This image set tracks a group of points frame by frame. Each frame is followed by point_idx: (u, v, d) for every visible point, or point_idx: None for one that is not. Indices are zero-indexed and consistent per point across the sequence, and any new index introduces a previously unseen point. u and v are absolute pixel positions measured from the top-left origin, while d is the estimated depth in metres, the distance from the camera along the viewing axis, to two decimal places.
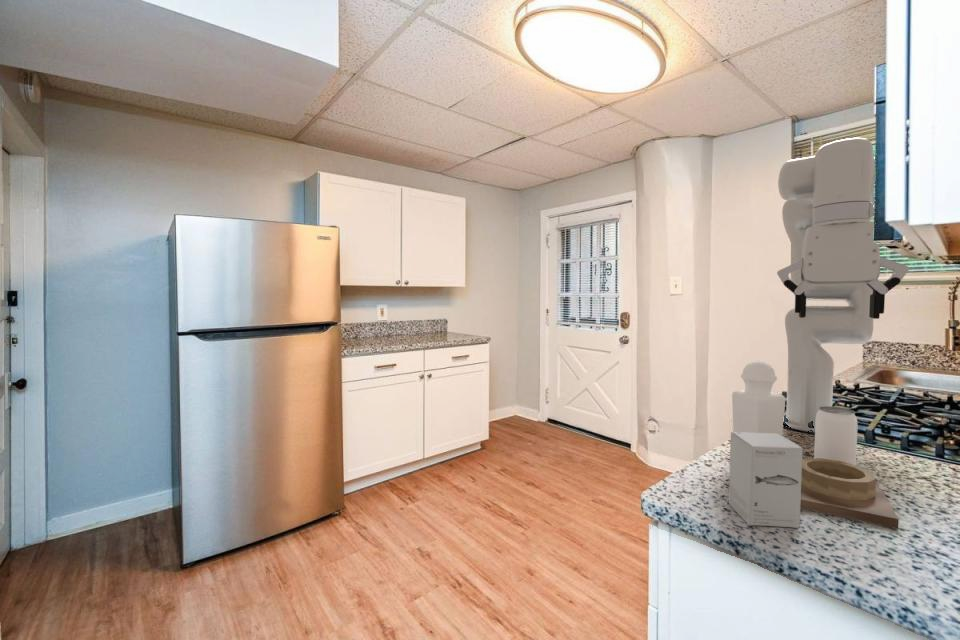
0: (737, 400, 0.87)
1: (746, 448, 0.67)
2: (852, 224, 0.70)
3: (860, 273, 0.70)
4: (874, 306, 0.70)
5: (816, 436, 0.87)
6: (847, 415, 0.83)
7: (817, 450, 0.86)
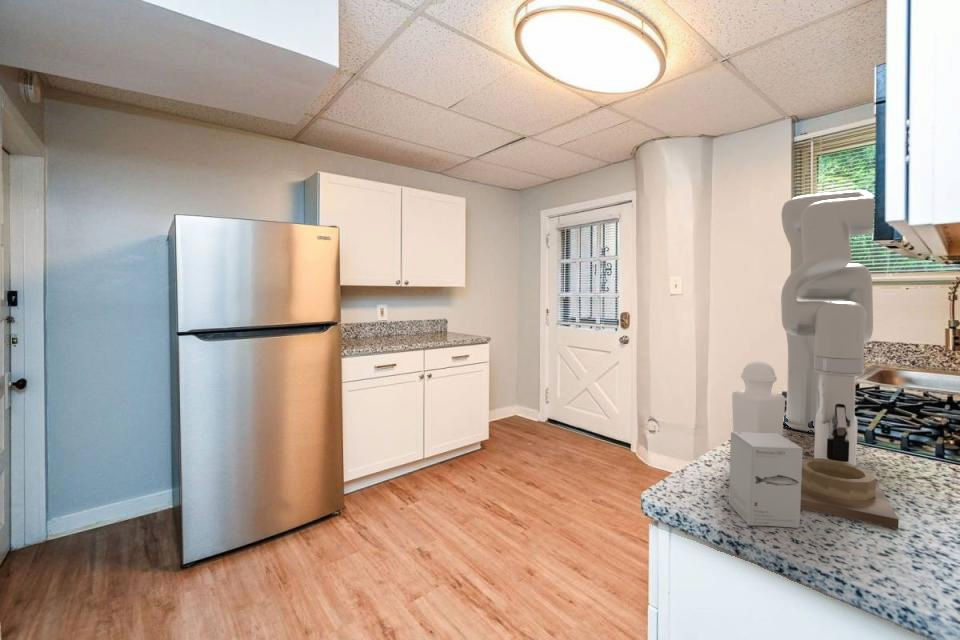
0: (737, 400, 0.87)
1: (747, 448, 0.67)
2: None
3: None
4: None
5: (816, 436, 0.87)
6: None
7: (817, 450, 0.86)
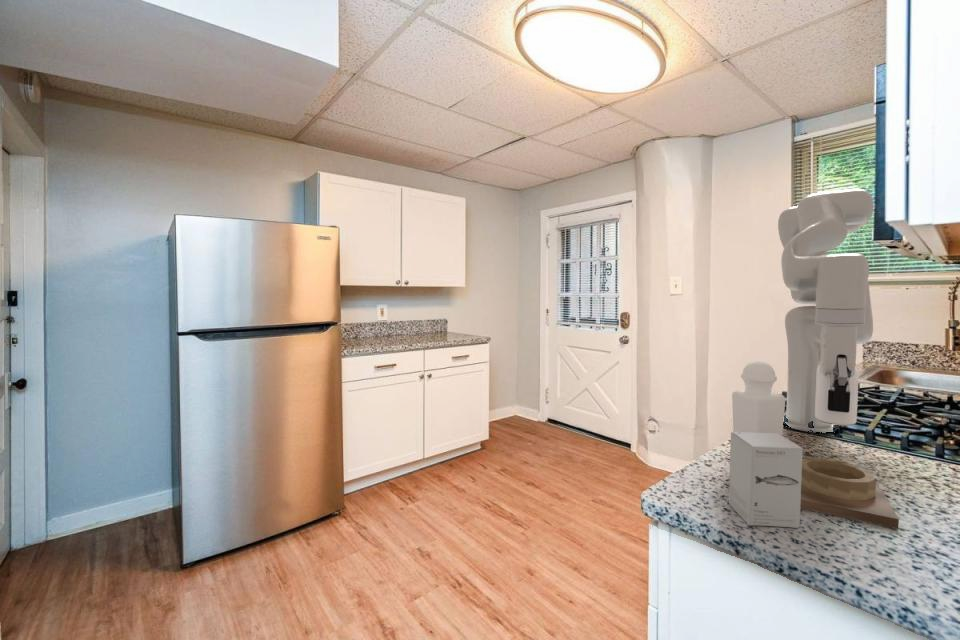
0: (737, 400, 0.87)
1: (746, 448, 0.67)
2: None
3: None
4: None
5: (817, 389, 0.87)
6: None
7: (818, 403, 0.87)
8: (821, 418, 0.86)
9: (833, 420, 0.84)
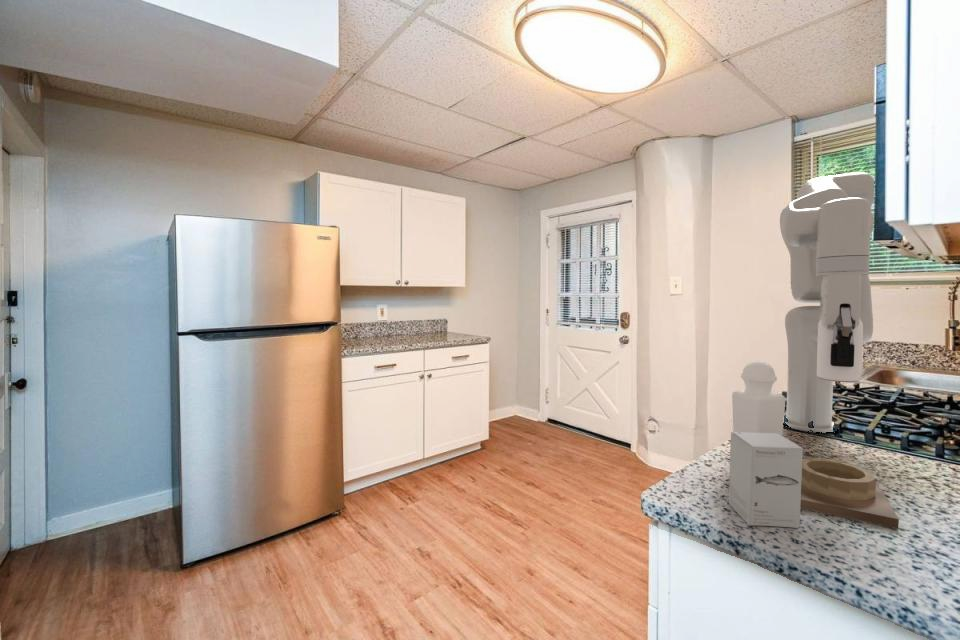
0: (737, 400, 0.87)
1: (747, 448, 0.67)
2: None
3: None
4: None
5: (819, 345, 0.81)
6: None
7: (820, 359, 0.81)
8: (823, 375, 0.80)
9: (837, 376, 0.78)
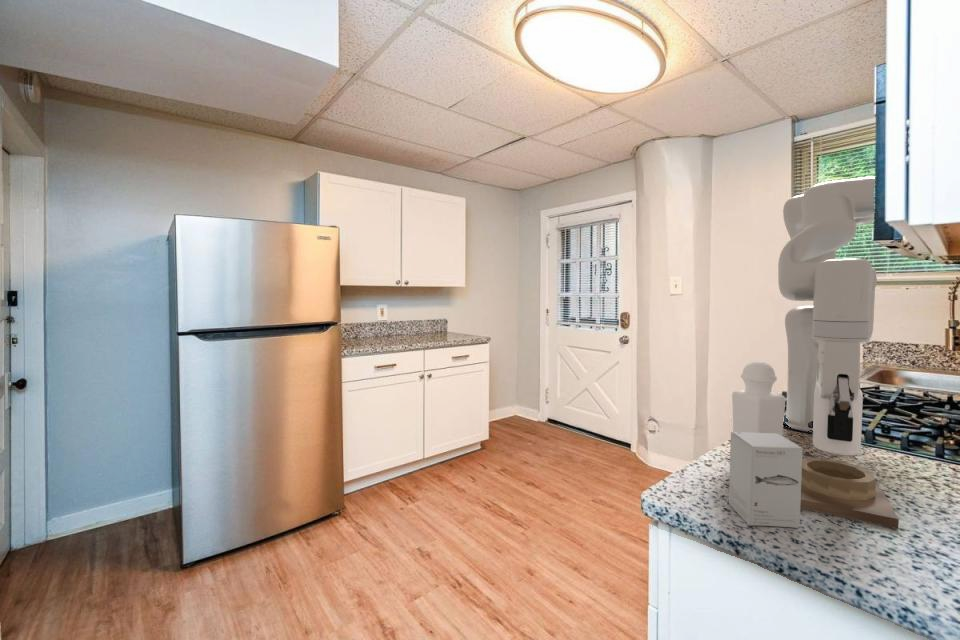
0: (737, 400, 0.87)
1: (746, 448, 0.67)
2: None
3: None
4: None
5: (815, 413, 0.76)
6: None
7: (816, 429, 0.75)
8: (820, 447, 0.75)
9: (834, 449, 0.73)
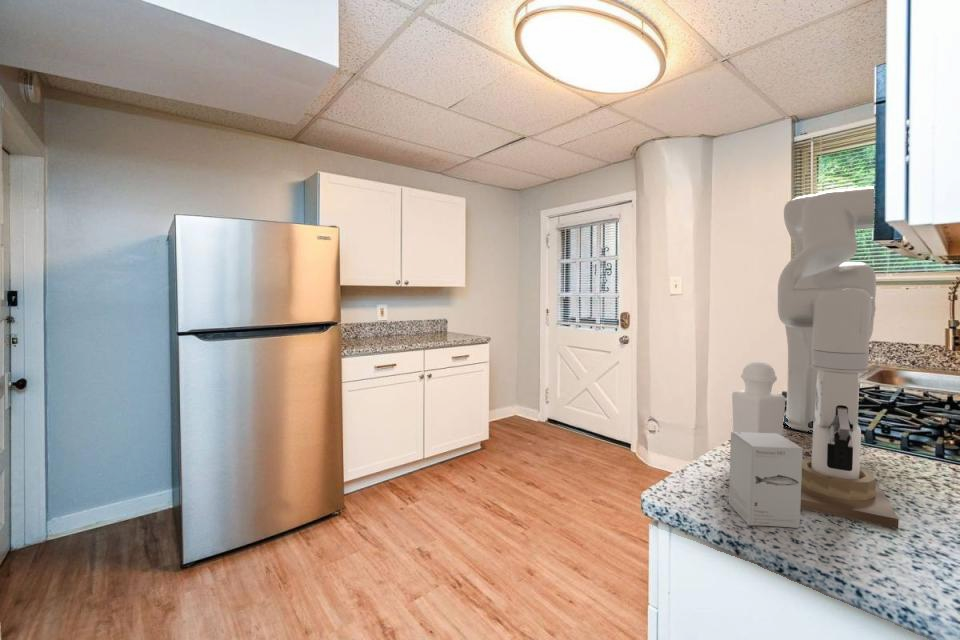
0: (737, 400, 0.87)
1: (747, 448, 0.67)
2: None
3: None
4: None
5: (814, 448, 0.76)
6: None
7: (815, 464, 0.76)
8: None
9: None
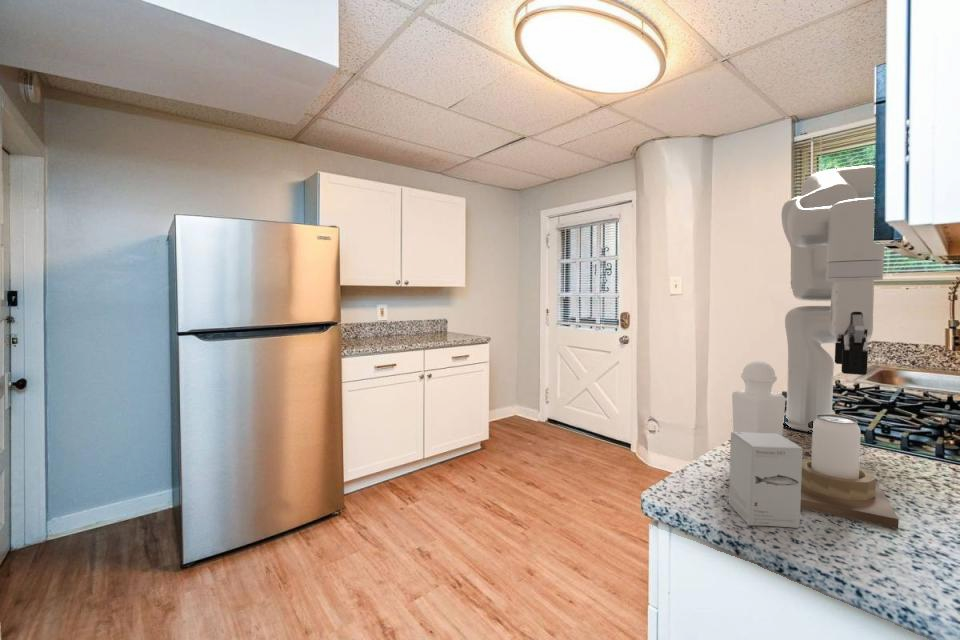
0: (737, 400, 0.87)
1: (746, 448, 0.67)
2: None
3: None
4: None
5: (813, 448, 0.76)
6: (849, 424, 0.72)
7: (815, 464, 0.76)
8: None
9: None
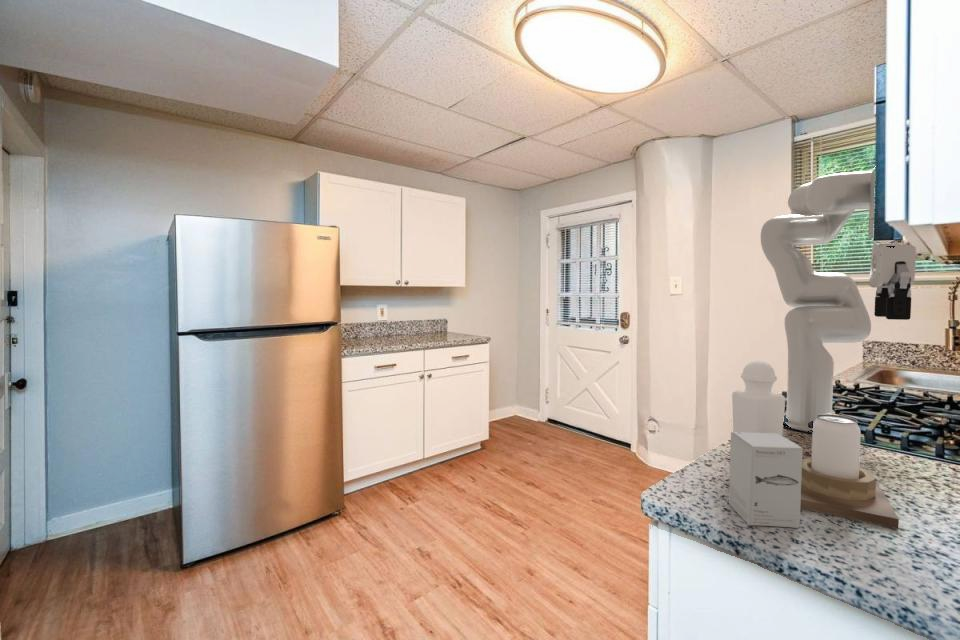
0: (737, 400, 0.87)
1: (746, 448, 0.67)
2: None
3: None
4: None
5: (813, 448, 0.76)
6: (849, 425, 0.72)
7: (815, 464, 0.76)
8: None
9: None
